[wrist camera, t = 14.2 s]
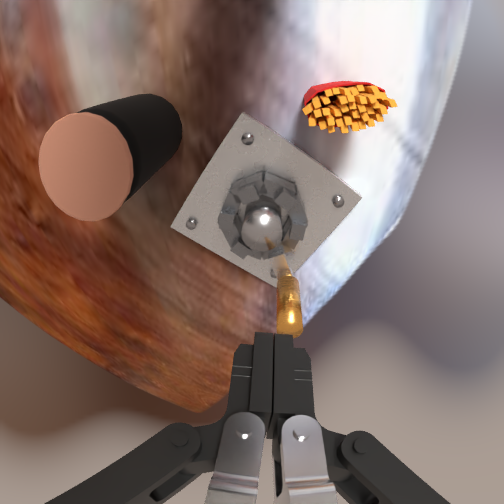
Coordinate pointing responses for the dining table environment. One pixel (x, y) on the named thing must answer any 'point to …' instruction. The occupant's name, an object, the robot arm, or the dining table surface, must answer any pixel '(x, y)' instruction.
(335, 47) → the dining table surface
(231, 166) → the flange plate
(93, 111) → the coffee jar
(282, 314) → the spiky gray ring
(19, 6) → the dining table surface
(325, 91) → the french fries
